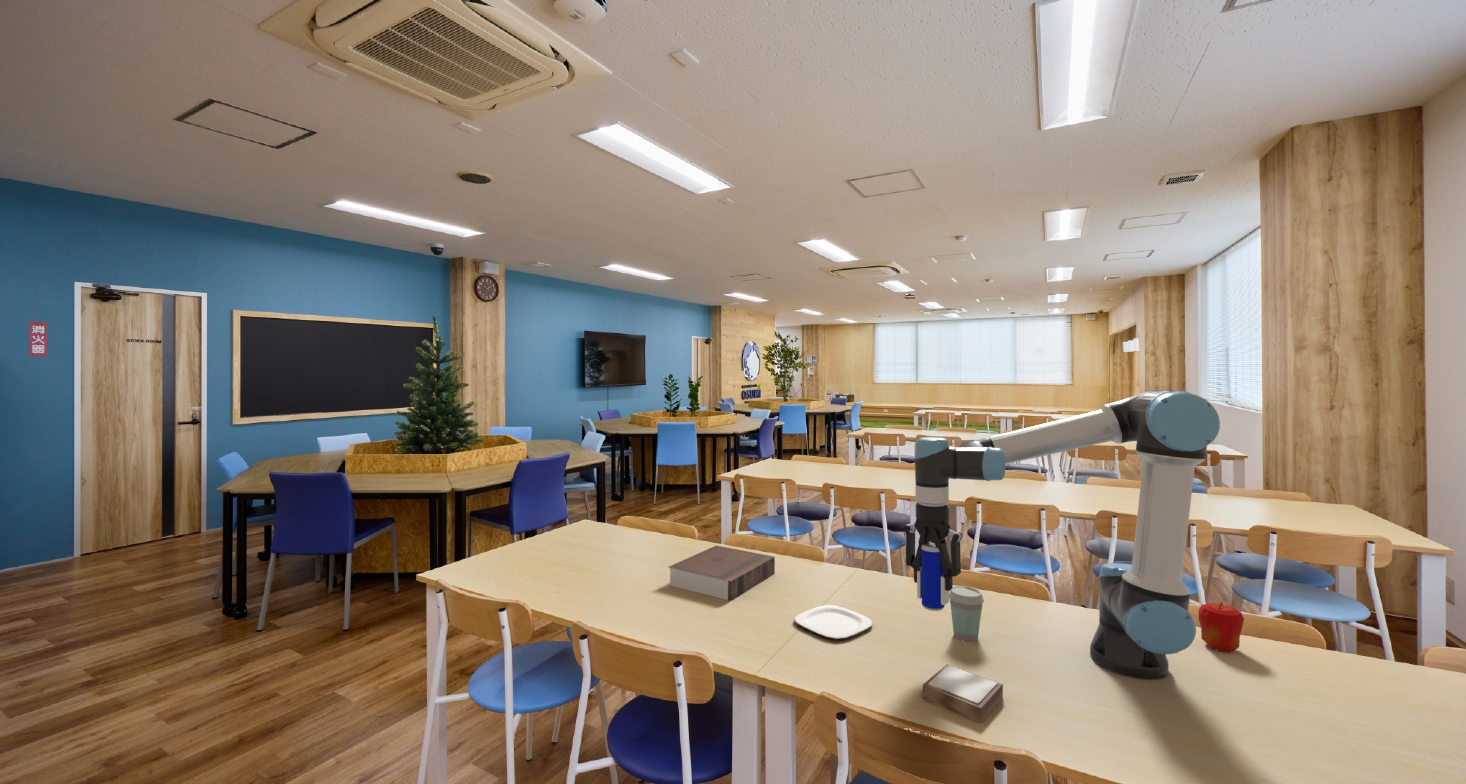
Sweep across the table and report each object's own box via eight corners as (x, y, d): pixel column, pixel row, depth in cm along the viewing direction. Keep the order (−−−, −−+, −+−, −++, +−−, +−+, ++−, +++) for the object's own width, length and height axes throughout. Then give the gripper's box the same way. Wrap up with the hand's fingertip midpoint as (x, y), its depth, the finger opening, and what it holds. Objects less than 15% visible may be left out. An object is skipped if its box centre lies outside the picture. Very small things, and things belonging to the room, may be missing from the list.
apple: (1232, 643, 143) (1233, 597, 142) (1250, 658, 135) (1251, 609, 134) (1191, 638, 145) (1192, 592, 145) (1207, 652, 138) (1207, 605, 137)
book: (774, 575, 194) (774, 556, 194) (731, 602, 170) (731, 581, 170) (716, 563, 207) (716, 545, 207) (668, 586, 183) (668, 567, 183)
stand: (1002, 698, 118) (1002, 682, 118) (980, 723, 110) (980, 706, 110) (946, 677, 127) (946, 662, 127) (922, 698, 118) (922, 683, 118)
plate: (837, 648, 141) (837, 641, 141) (786, 624, 155) (786, 618, 155) (880, 627, 153) (880, 621, 153) (829, 607, 167) (829, 601, 167)
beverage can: (939, 602, 137) (938, 541, 136) (948, 611, 131) (947, 547, 131) (918, 603, 136) (917, 541, 136) (926, 612, 131) (925, 548, 131)
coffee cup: (987, 645, 142) (987, 598, 141) (951, 642, 143) (951, 596, 143) (979, 630, 150) (979, 586, 150) (945, 628, 152) (945, 584, 151)
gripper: (977, 505, 130) (978, 605, 130) (904, 495, 143) (905, 586, 143) (964, 511, 124) (964, 615, 125) (889, 500, 137) (890, 594, 138)
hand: (933, 599), depth 134 cm, fingers closed on beverage can, 5 cm apart
